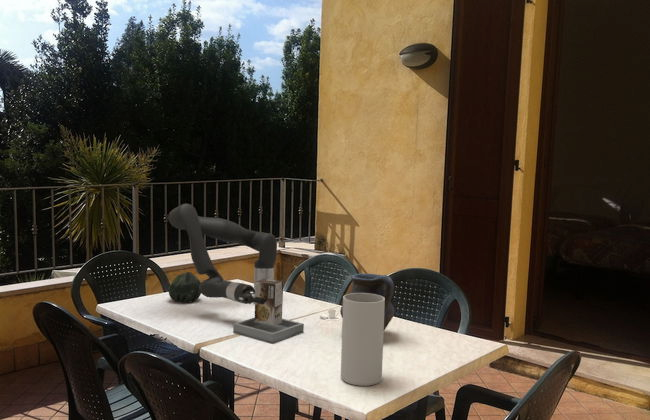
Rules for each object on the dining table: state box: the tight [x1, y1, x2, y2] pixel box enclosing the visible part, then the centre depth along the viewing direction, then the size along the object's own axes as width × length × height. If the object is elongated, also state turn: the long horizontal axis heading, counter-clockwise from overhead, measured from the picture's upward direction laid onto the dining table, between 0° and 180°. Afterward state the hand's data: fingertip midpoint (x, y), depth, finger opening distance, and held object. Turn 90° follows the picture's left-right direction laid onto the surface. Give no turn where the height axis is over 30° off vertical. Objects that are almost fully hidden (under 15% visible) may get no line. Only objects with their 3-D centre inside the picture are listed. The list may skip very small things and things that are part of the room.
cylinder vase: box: [340, 293, 385, 387], centre depth 161 cm, size 12×12×25 cm
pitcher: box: [340, 273, 395, 332], centre depth 203 cm, size 21×22×25 cm
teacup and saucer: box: [319, 308, 342, 321], centre depth 229 cm, size 9×8×4 cm
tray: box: [232, 317, 305, 345], centre depth 205 cm, size 18×20×4 cm
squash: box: [168, 271, 202, 304], centre depth 250 cm, size 14×15×15 cm
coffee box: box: [254, 279, 284, 326], centre depth 204 cm, size 9×6×16 cm
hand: (270, 299), depth 204 cm, fingers closed on coffee box, 7 cm apart
